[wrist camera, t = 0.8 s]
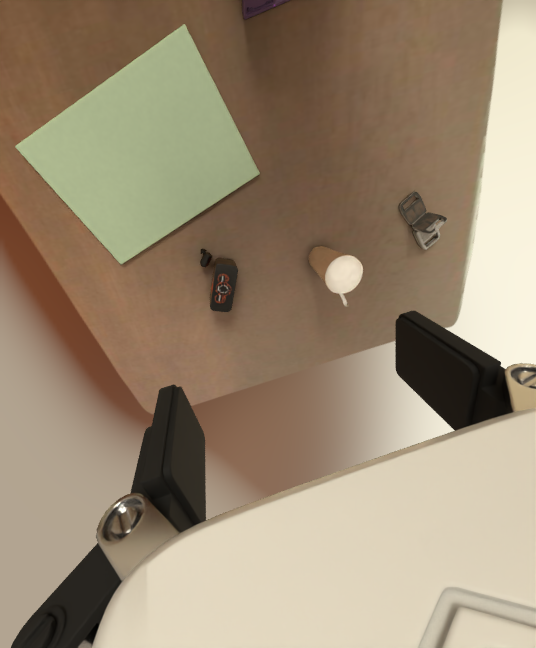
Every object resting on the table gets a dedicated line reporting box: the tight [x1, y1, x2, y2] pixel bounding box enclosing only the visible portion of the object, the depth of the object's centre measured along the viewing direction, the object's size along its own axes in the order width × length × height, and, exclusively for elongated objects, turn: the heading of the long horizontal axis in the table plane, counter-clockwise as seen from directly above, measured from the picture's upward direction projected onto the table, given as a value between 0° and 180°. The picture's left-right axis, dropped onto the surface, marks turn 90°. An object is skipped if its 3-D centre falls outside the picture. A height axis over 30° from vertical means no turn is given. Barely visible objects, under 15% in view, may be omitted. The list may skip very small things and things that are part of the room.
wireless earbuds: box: [200, 249, 238, 312], centre depth 36 cm, size 5×7×3 cm, turn 168°
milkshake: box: [308, 246, 363, 306], centre depth 35 cm, size 4×5×10 cm
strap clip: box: [400, 192, 447, 250], centre depth 38 cm, size 8×3×4 cm, turn 42°
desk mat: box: [15, 24, 260, 265], centre depth 30 cm, size 14×20×1 cm
